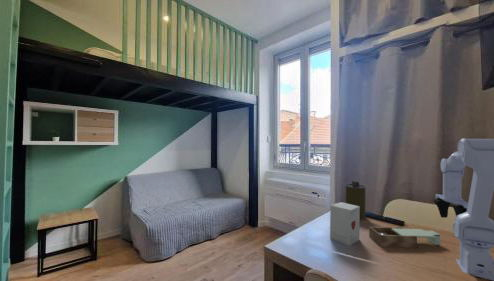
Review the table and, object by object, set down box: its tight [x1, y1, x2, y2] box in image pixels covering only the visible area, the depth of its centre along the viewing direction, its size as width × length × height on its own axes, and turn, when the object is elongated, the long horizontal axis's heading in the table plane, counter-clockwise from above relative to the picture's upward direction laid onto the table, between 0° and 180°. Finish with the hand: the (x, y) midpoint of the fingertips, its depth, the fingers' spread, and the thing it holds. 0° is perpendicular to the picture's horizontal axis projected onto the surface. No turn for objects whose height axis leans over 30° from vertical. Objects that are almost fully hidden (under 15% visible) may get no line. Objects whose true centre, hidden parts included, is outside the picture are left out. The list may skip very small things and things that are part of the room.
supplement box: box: [329, 201, 360, 246], centre depth 94 cm, size 9×9×15 cm
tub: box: [368, 226, 418, 249], centre depth 91 cm, size 14×9×5 cm, turn 87°
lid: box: [391, 228, 441, 246], centre depth 91 cm, size 16×7×4 cm, turn 87°
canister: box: [344, 180, 367, 221], centre depth 124 cm, size 11×10×20 cm
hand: (451, 220), depth 91 cm, fingers open, 7 cm apart
